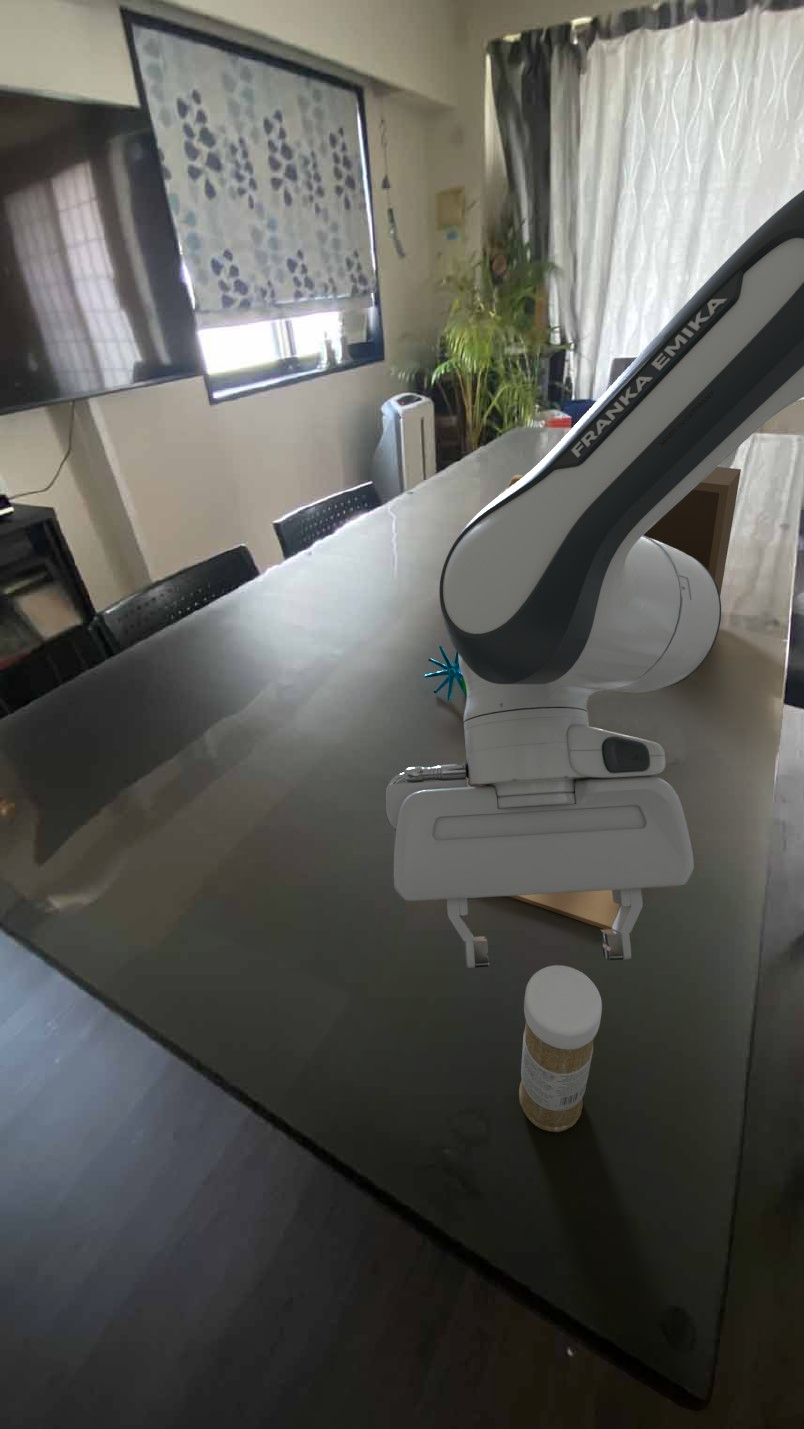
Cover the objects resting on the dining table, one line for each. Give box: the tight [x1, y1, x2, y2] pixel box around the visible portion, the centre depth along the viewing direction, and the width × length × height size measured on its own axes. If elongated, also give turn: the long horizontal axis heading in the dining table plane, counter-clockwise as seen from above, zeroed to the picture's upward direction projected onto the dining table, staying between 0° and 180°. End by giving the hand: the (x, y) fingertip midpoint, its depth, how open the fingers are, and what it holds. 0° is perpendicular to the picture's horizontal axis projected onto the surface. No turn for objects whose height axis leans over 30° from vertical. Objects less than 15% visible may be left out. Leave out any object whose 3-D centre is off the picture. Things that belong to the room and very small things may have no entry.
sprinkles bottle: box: [518, 964, 603, 1133], centre depth 42 cm, size 5×5×14 cm
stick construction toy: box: [423, 645, 467, 702], centre depth 90 cm, size 12×7×8 cm
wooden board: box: [466, 777, 621, 930], centre depth 67 cm, size 20×16×1 cm
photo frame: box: [643, 466, 742, 596], centre depth 96 cm, size 15×22×25 cm
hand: (547, 962), depth 43 cm, fingers open, 8 cm apart
